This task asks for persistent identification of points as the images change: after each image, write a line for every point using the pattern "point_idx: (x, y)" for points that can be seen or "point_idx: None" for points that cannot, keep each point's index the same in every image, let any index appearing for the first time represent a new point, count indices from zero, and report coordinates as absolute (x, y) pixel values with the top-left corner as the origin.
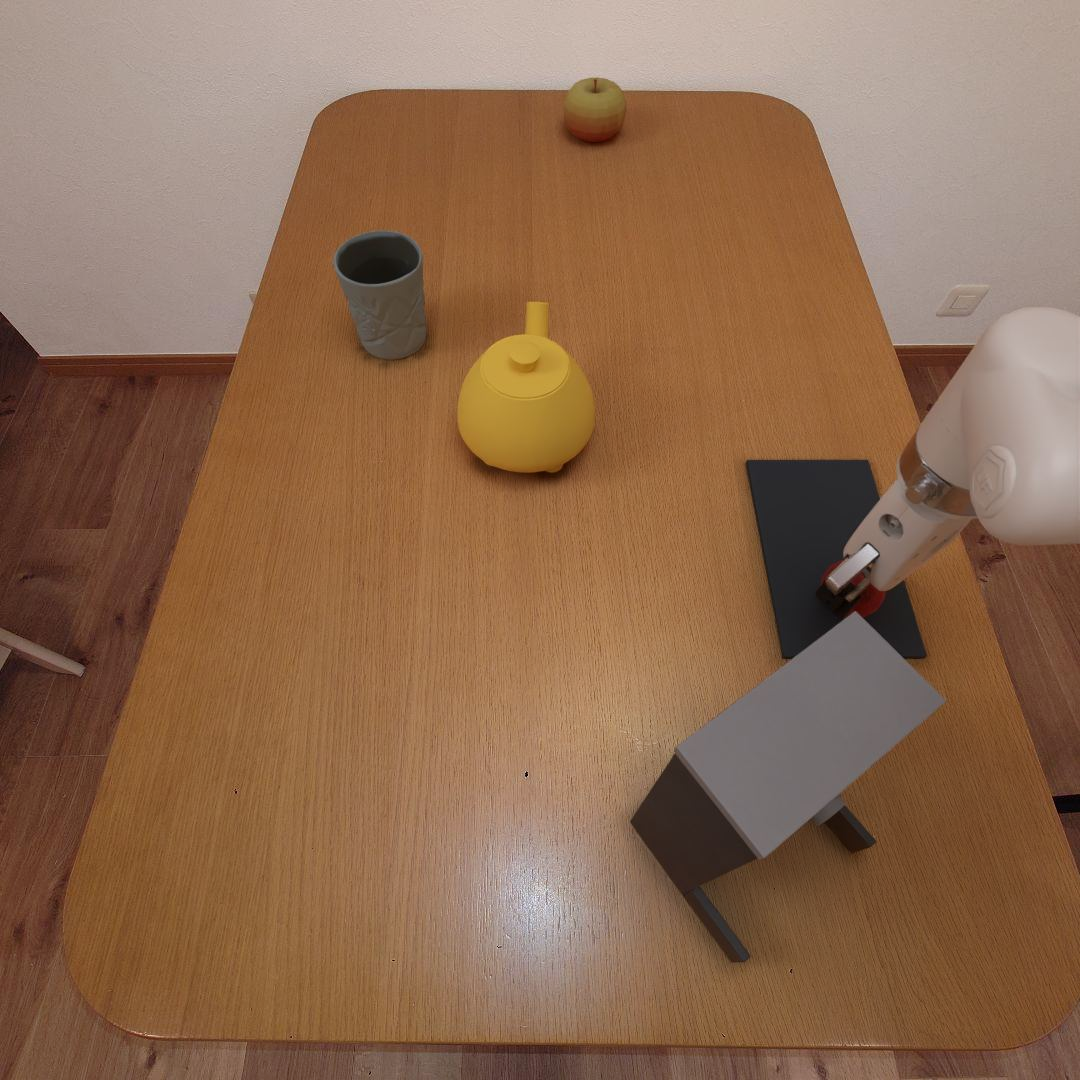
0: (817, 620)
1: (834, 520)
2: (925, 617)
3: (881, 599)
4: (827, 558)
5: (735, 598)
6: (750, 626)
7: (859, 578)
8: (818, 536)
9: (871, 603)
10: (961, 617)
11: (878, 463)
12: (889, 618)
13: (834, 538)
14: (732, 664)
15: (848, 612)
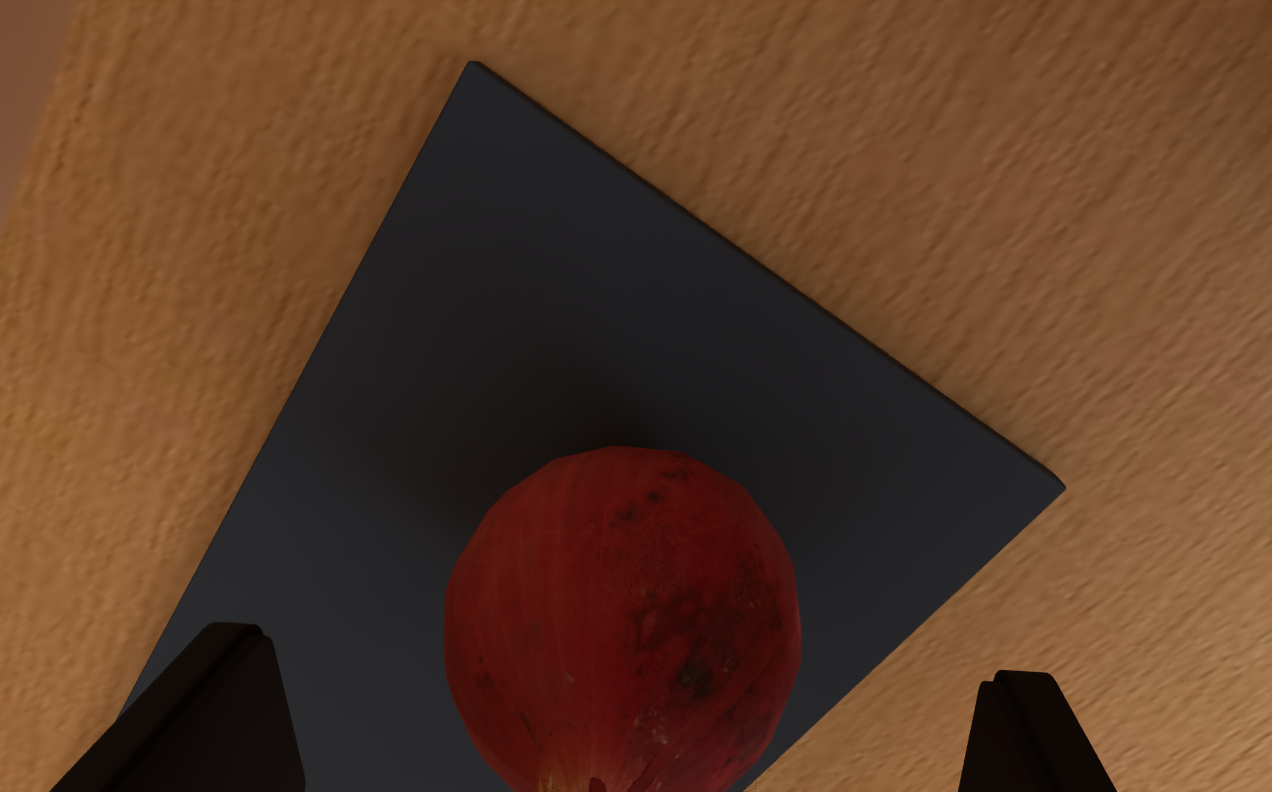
0: (785, 515)
1: (361, 748)
2: (311, 219)
3: (581, 533)
4: None
5: (963, 749)
6: (1025, 645)
7: (671, 785)
8: (472, 744)
9: (667, 558)
10: (144, 108)
11: (34, 778)
12: (484, 327)
13: (419, 704)
14: (1250, 581)
15: (1040, 730)
